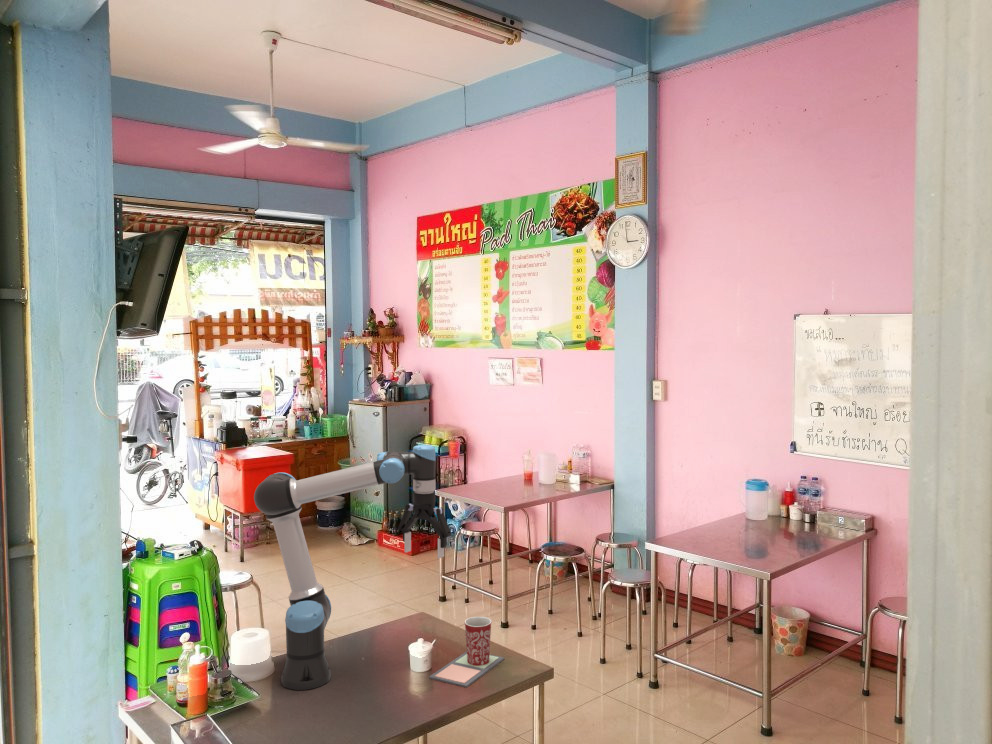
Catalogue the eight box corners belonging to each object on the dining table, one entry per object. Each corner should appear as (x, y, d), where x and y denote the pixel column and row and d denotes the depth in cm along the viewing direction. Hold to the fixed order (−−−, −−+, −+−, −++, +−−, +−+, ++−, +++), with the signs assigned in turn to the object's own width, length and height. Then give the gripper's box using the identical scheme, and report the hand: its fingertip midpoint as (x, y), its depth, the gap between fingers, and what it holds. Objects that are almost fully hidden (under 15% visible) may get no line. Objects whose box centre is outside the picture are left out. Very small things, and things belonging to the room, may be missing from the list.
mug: (496, 664, 252) (495, 623, 251) (470, 669, 248) (469, 627, 248) (483, 650, 263) (482, 611, 263) (457, 654, 260) (457, 615, 260)
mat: (429, 678, 243) (429, 676, 243) (468, 651, 264) (468, 649, 264) (466, 687, 237) (466, 685, 237) (504, 659, 257) (504, 657, 257)
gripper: (387, 489, 261) (387, 551, 262) (449, 497, 249) (448, 562, 249) (401, 486, 267) (401, 546, 268) (461, 493, 255) (461, 556, 256)
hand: (424, 554), depth 259 cm, fingers open, 13 cm apart
